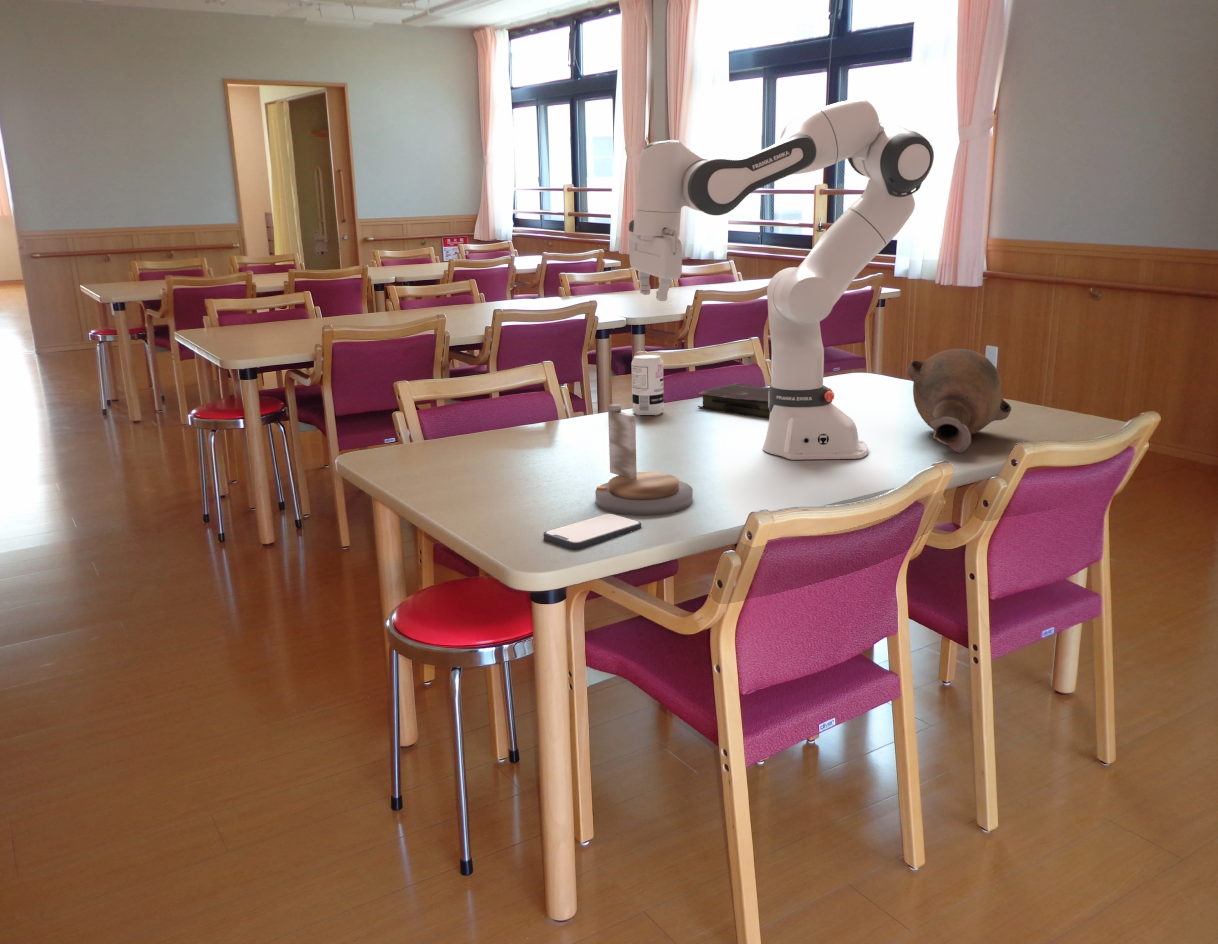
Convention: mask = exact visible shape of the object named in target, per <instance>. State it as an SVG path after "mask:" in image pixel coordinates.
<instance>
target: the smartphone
mask: <svg viewBox="0 0 1218 944" xmlns="http://www.w3.org/2000/svg"><path fill="white" fill-rule="evenodd" d="M640 528H641V529H642V522H641V521H639V520H636V519H632V518H628V517H625V516H621V515H619V514H616V513H604V514H600V515H597V516H594V517H591V518H587V519H583V520H581V521H577V522H574V523H570V524H567V525H563V526H561V527H556V528H553V529H549V530H546V531H545V532H543V540H544V541H545V542H547V543H549V544H552V545H556V546H559V547H562V548H565V549H568V550H571V551H579V550H582V549H585V548H588V547H591V546H594V545H597V544H600V543H603V542H606V541H608V540H612V539H615V538H618V537H621V536H623V535H627V534H630V533H632V532H635V531H637V529H638V530H640ZM634 530H635V531H634ZM631 531H632V532H631ZM620 535H621V536H620Z"/></svg>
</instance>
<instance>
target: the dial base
mask: <svg viewBox="0 0 1218 944" xmlns="http://www.w3.org/2000/svg"><path fill="white" fill-rule="evenodd" d="M693 492H694V490H693V487H692V486H691V485H690V484H688V483H686V482H685V481H682V480H681V481H680V480H679V491H678V492H677V493H675V494H673V495H671V496H667V497H663V498H657V499H627V498H621V497H618V496H615V495H613V494H611V493H610V492H609V481H608V482H605V483H603V484H601V485H599V486H596V489H595V490H594V493H595V495H594V496H595V504H596V506H597V507H598V508H599V509H602V510H604V511H607V512H609V513H612V514H617V515H619V514H620V515H626V516H657V515H664V514H665V515H666V514H670V513H671V514H672V513H675V512H678V511H681V510H684V509H687V508H688V507H689V506H691V505H692V504H693V500H694V499H693V498H694V493H693Z"/></svg>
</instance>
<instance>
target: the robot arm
mask: <svg viewBox="0 0 1218 944" xmlns="http://www.w3.org/2000/svg"><path fill="white" fill-rule="evenodd" d="M640 153H641V154H640V157H639V163H638V171H637V181H636V183H637V184H636V189H637V193H638V200H637V204H636V207H635V215H634V216H633V218H632V219H631V220H630V221H629V222H628V226H627V227H628V228H627V231H628V233H630V236H629V248H628V249H629V251H628V254H629V264H630V269H632V270H635V271H638V272H637V273H638V274H637V277H638V282H639V293H640V295H644V296H647V295H648V296H649V295H650V294H651V285H650V277H651V276H653V277H656V278H658V283H659V284H658V289H657V290H656V294H655V295H656V296H655V298H656V300H657V301H659V302H666V301H668V294H669V293H668V292H669V290H670V288H671V285H672V280H679V279H680V277H682V272H683V271H682V270H683V247H682V246H683V245H682V242H681V240H680V239H679V237H680V229H681V217H682V216H681V214H682V213H681V212H682V211H681V210H682V208H683V207H688V208H689V209H692V210H694V211H698V212H702V213H705V214H707V215H709V216H723V215H725V214H728V213H730V212H731V211H733V210H734V209H735V208H737V207H738V206H739V205H740V203H742V202H743V201H744V200H745V198H746V197H748V196H749V195H750V194H752V192H753V193H754V191H757V190H758V189H760V188H763V187H765V186H767V185H769V184H772V183H774V182H777V181H779V180H781V179H784V178H786V177H788V176H792V175H798V174H806V173H810V172H815V171H817V170H818V171H819V170H822V169H825V168H827V167H830V166H832V165H835V164H838V163H840V162H842V161H844V160H846V159H847V161H848V163H849V165H850V167H852V169H853V170H854V171H855V172H856V173H857V174H859V175H861V176H864V177H866V178H868V181H867V185H866V187H865V189H864V191H863V192H862V194H861V195H860V197H859V198H858V199H857V200H856V201H855V202H854V203H852V205H850V207H848V209H846V210H845V211H844V212H843V213H842V214H841V215H840V216H839V218H837V219H836V220H835V221H834V222H833V223H832V224H831V225H830V226H829V228H828V229H827V230H826V231H825V232H823V234H822V235H820V236H819V238H818V241H817V242H816V243H815V245H814V246H813V248H812V249H811V250H810V252H809V253H808V255H807V256H806V257H805V258H804V260H803V261H802V262H801V263H800V264H799V266H797V267H796V266H793V267H786V268H784V269H781V270H780V271H778V272H777V273H775V274H774V275H773V277H771V279H770V281H769V282H768V285H767V288H766V295H767V297H766V298H767V311H768V312H767V314H768V326H769V335H770V336H769V337H770V343H771V344H770V345H771V372H770V373H771V381H770V382H771V384H770V385H769V394H768V408H769V411H770V417H769V419H768V425H767V431H766V435H765V439H764V442H763V443H764V444H763V445H762V446H763V447H762V450H763V451H764V452H766V453H767V454H771V455H775V456H779V457H783V458H785V459H787V460H794V461H796V460H799V461H800V460H802V461H803V460H841V459H842V460H847V459H848V460H850V459H851V460H852V459H856V460H857V459H863V458H864V457H866V456H867V455H868V454H869V447H868V444H867V443H866V442H865V441H864V440H860V439H859V432H858V430H857V429H858V428H857V425H856V423H855V422H854V420H853V419H852V418H851V417H850V416H849V415H847V414H846V413H845V412H844V411H842V410H841V409H840V408H839V407H837V406H836V405H834V404H833V401H834V399H835V393H834V392H833V390H832V388H830V387H827V386H825V385H824V365H825V364H824V363H825V348H824V344H823V340H822V333H821V325H820V324H821V323H820V322H821V321H823V320H825V319H827V317H828V316H829V314H831V312H832V311H833V307H834V306H835V305H836V304H837V302H838V301H839V300H840V298H841V297H842V296H843V295H844V293H845V292H846V291H847V289H848V288H849V286H850V285H851V284H852V282H853V281H854V279H855V278H856V277H857V276H858V275H859V274H860V273H861V272H862V270H864V269H865V267H866V266H867V265H869V263H871V261H872V260H873V259H874V258H875V257H876V256H877V255H878V254H880V252H881V251H882V250H883V249H885V247H887V246H888V244H889V243H890V242H891V241H892V240H893V239H894V238H895V237H896V236H897V234H898V233H899V232H900V231H901V230H902V228H903V227H904V225H905V224H906V223H907V222H908V220H909V219H910V218H911V215H912V214H913V212H914V210H915V207H916V204H915V203H916V202H915V198H914V196H913V194H915V193H916V192H918V191H919V190H920V188H921V187H922V184H923V182H924V181H925V179H927V177H928V176H929V173H930V171H931V170H932V166H933V163H934V158H935V155H934V153H935V152H934V148H933V145H932V144H931V142H930V141H929V140H928V139H927V138H926V137H925V136H923V135H922V134H920V133H919V132H917V131H912V130H910V129H908V128H905V127H902V126H897V125H889V124H884V123H880V119H879V115H878V113H877V111H876V109H875V106H873V104H872V103H870V101H869V100H865V99H863V98H854V99H848V100H843V101H838V102H835V103H831V104H828V105H825V106H822V107H819V108H817V109H815V110H814V109H813V110H812V111H809V112H807V113H804V114H803V115H801V116H799V117H797V118H796V119H793V121H791V122H790V123H788V124H786V125H785V127H784V128H783V130H782V132H781V136H780V138H779V140H778V141H777V142H776V143H774V144H772V145H770V146H769V147H766V148H763V149H761V150H758V151H756V152H754V153H751V154H749V155H746V156H744V157H743V158H738V159H726V158H716V159H707V158H705V157H703V156H701V155H699V154H698V153H695V152H693V151H692V150H691V149H690V148H688V146H686V145H685V144H683V142H682V141H681V140H678V139H670V140H669V139H667V140H660V141H654V142H650V143H648V144H647V145H646V146H645V147H643V148H642V150H641V152H640ZM650 275H651V276H650Z"/></svg>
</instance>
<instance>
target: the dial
mask: <svg viewBox="0 0 1218 944" xmlns="http://www.w3.org/2000/svg"><path fill="white" fill-rule="evenodd" d="M607 407H608V410H607V413H608V415H607V416H608V447H609V448H608V449H609V450H608V451H609V452H608V454H609V473H610V474H612V475H617V476H614V477H611V479H609V480H608V482H609V492H610V493H611V494H613V495H615V496H618V497H621V498H627V499H657V498H663V497H667V496H671V495H673V494H675V493H677V492H678V491H679V481H680V480H679V478H677V477H676V476H674V475H672V474H668V473H662V472H654V471H652V472H651V471H642V472H641V471H639V472H638V470H637V439H636V438H637V437H636V436H637V435H636V434H637V433H636V432H637V431H636V426H637V425H636V414H632V413H627V412H623V411H622V405H621V404H619V403H612V404H608V406H607Z"/></svg>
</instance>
